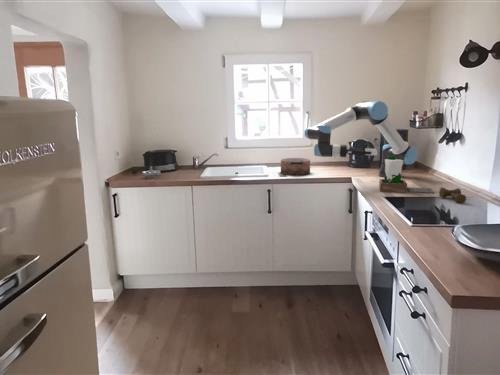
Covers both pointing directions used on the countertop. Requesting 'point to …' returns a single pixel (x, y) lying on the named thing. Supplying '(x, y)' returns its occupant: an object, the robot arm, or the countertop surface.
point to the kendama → (453, 194)
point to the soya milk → (393, 170)
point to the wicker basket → (295, 166)
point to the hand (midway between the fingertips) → (376, 151)
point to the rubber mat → (420, 190)
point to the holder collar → (393, 186)
